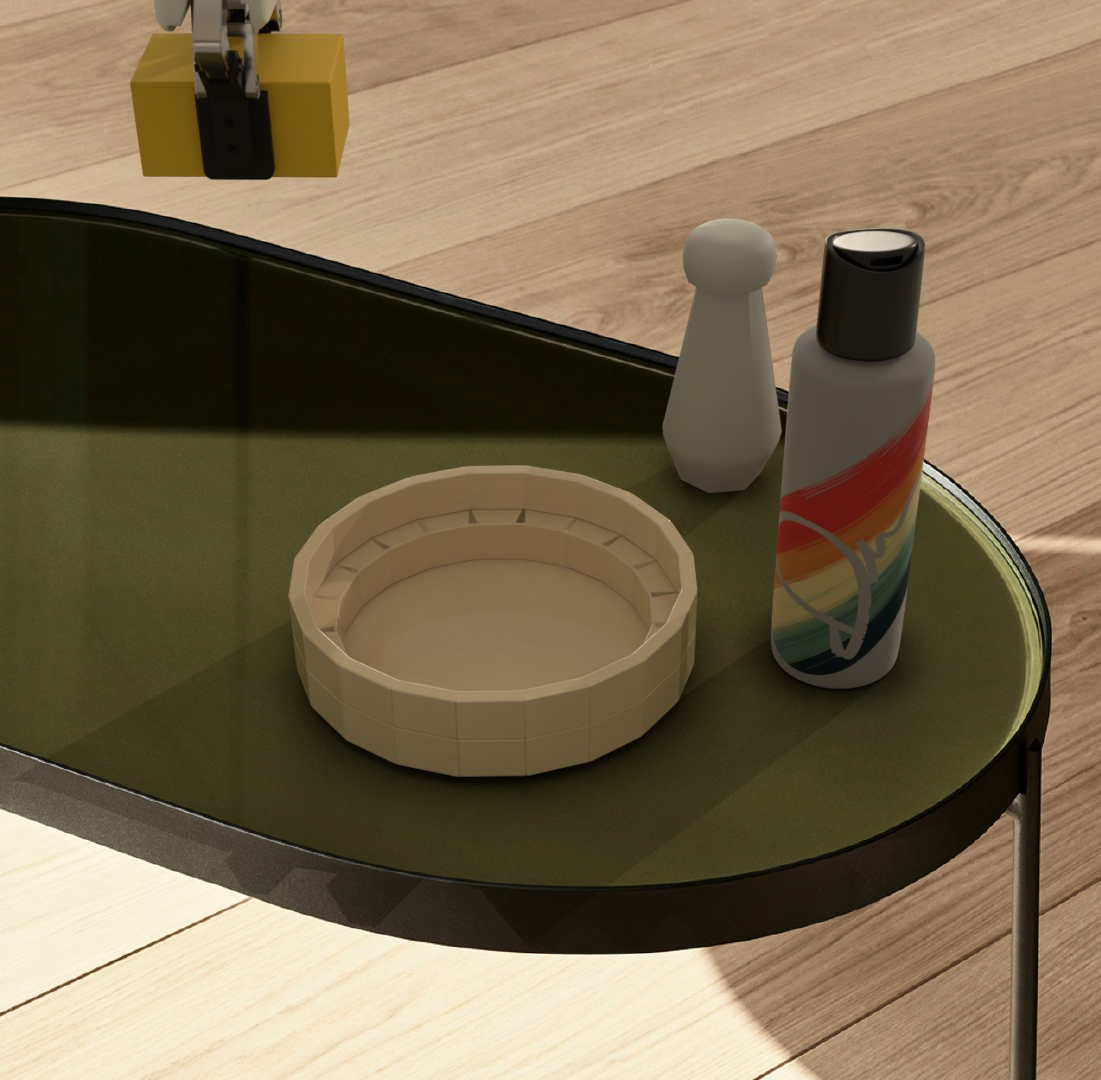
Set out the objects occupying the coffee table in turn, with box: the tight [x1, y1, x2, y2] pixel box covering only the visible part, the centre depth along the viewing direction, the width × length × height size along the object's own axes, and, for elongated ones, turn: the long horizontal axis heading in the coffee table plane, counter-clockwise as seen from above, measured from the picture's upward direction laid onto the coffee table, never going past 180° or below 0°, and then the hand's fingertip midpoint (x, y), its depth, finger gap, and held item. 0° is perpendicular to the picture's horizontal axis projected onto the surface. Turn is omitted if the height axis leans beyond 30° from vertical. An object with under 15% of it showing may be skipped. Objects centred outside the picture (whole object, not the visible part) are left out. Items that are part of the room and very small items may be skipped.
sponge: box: [129, 32, 350, 178], centre depth 93 cm, size 9×6×4 cm, turn 89°
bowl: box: [287, 464, 699, 778], centre depth 87 cm, size 17×17×4 cm
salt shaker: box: [662, 218, 783, 494], centre depth 96 cm, size 6×6×13 cm
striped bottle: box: [770, 227, 936, 690], centre depth 82 cm, size 6×6×20 cm
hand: (249, 143), depth 94 cm, fingers closed on sponge, 6 cm apart
